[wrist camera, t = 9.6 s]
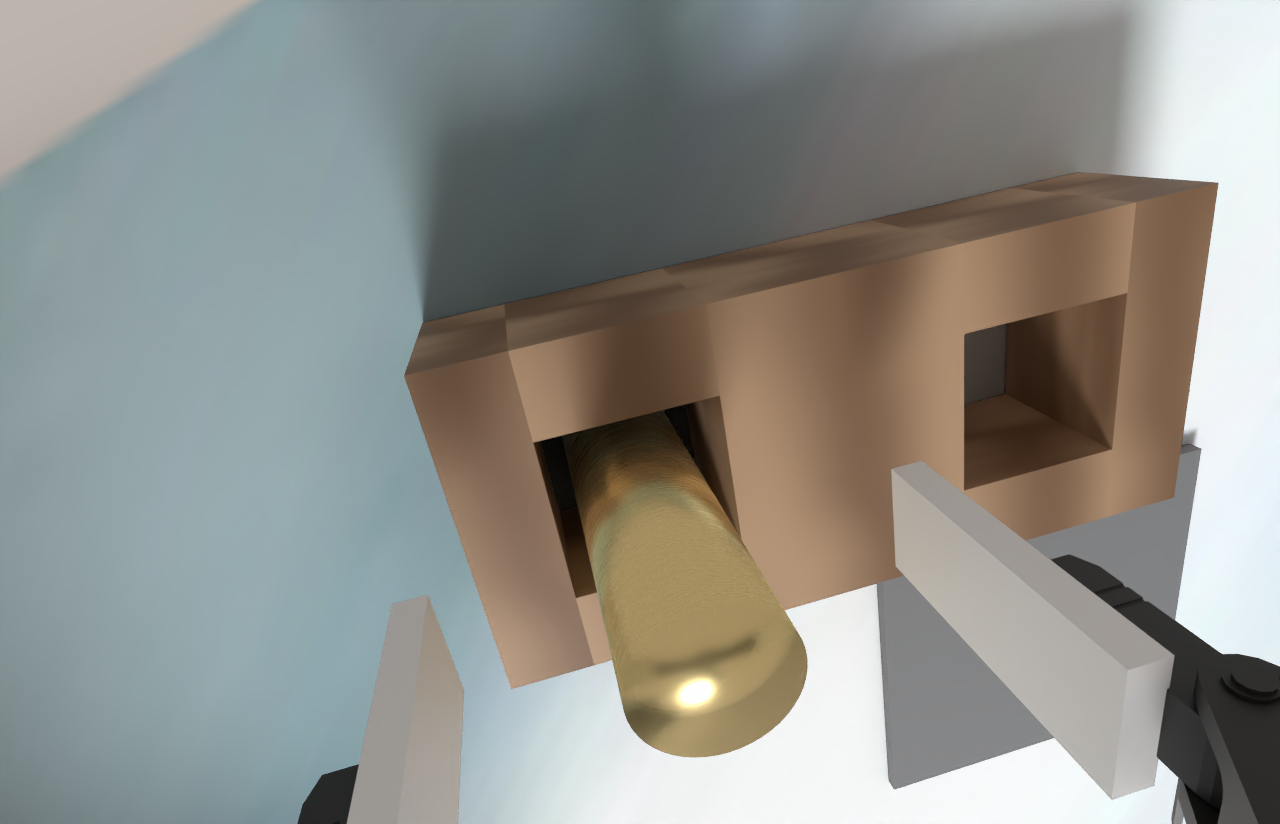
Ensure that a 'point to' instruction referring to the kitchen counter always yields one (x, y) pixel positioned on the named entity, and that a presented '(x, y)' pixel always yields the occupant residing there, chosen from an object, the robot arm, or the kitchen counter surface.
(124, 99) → the kitchen counter surface
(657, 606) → the peg
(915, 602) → the mat
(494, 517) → the hole block
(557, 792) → the kitchen counter surface
